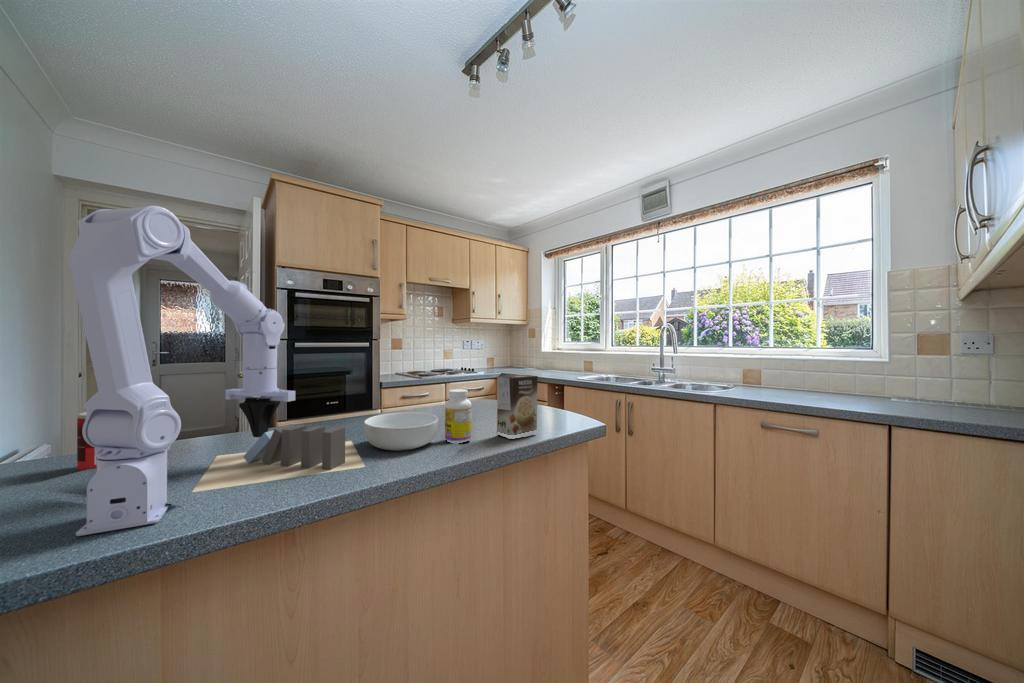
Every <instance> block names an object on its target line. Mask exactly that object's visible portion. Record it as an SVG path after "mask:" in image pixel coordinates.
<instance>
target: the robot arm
mask: <svg viewBox="0 0 1024 683" xmlns="http://www.w3.org/2000/svg"><path fill="white" fill-rule="evenodd" d="M77 224H78V230H79V234H78V236H77V240H76V242H75V244H74V246H73V248H72V250H71V253H70V255H69V267H70V271H71V275H72V280H73V286H74V289H75V292H76V294H75V295H76V297H77V301H78V303H77V304H78V307H79V310H80V316H81V320H82V325H83V328H84V333H85V338H86V342H87V346H88V351H89V355H90V359H91V364H92V365H91V366H92V368H93V373H94V377H95V378H94V379H95V382H96V386H97V391H96V393H95V394H94V395H92V396H91V398H89V399H88V400H87V401H86V402H85V405H84V406H85V410H86V411H85V412H86V413H87V415H86V420H85V422H84V425H83V429H82V434H83V438H84V439H85V441H86V442H87V443H88V444H89V445H91V446H93V447H95V455H97V468H96V472H95V473H94V475H93V476H92V477H91V478H90V480H89V481H88V484H87V487H86V523H85V524H84V525H83V526H82V527H80V528H79V529H78V530H77V531H76V532H75V536H76V537H81V536H87V535H94V534H98V533H105V532H106V533H107V532H110V531H116V530H122V529H123V530H124V529H128V528H133V527H139V526H146V525H152V524H157V523H159V521H160V520H161V519H162V517H163V516H164V515H165V514H166V513H167V511H168V510H169V509H170V507H171V506H172V503H168V451H169V450H171V445H173V443H174V442H175V441H176V440H177V439H178V436H179V434H180V432H181V429H182V420H181V417H180V414H178V412H177V411H176V410H175V409H174V408H173V406H172V405H171V399H170V396H169V395H168V394H167V393H166V392H165V391H163V390H162V389H161V388H160V387H158V386H157V385H156V384H155V383H154V382H153V377H152V372H151V371H152V370H151V367H150V362H149V357H148V351H147V347H146V346H147V345H146V342H145V337H144V336H145V335H144V332H143V327H142V321H141V316H140V310H139V305H138V301H137V297H136V292H135V287H134V286H135V285H134V281H133V274H134V272H136V271H137V270H138V269H140V268H141V267H142V266H144V264H146V263H147V262H149V261H150V260H151V259H152V260H158V261H159V260H160V261H164V262H169V263H171V264H172V265H174V266H175V267H176V268H177V269H179V270H180V271H182V272H183V273H185V274H186V276H189V277H190V278H191V279H192V280H193V281H195V282H196V283H197V284H199V285H200V286H202V287H203V288H204V289H205V290H206V291H208V292H210V295H209V296H210V297H209V299H210V300H209V301H210V302H211V303H212V304H213V305H214V306H215V307H216V308H218V309H219V310H220V311H221V312H222V313H224V314H225V315H226V316H227V317H228V318H229V319H231V321H232V322H233V323H234V327H235V330H236V332H237V333H238V334H239V335H241V336H242V342H243V343H242V345H243V347H242V348H243V349H242V388H231V389H230V388H229V389H225V396H224V397H225V398H224V399H225V400H244V402H243V401H242V402H239V403H238V408H239V409H240V410H241V412H242V413H243V414H244V416H245V417H246V420H247V422H248V424H249V427H250V431H251V435H252V437H253V438H260V437H261V436H262V435H263V434H264V433H265V432H268V431H269V427H270V424H271V421H272V419H273V416H274V414H275V413H276V410H277V409H278V408H279V406H280V405H281V402H285V403H288V402H292V401H293V402H294V401H296V390H288V389H281V388H278V346H279V345H280V343H281V335H282V334H283V332H284V330H285V326H286V325H285V324H286V323H285V322H284V320H283V317H282V316H281V314H280V313H279V312H278V311H276V310H275V309H273V308H267V307H266V306H265V305H264V303H263V302H262V301H261V300H259V299H258V298H257V297H256V296H255V295H254V294H253V293H252V292H251V291H250V290H248V285H246V283H244V282H240V281H238V280H229V279H228V278H227V277H226V276H225V275H224V274H223V273H222V272H221V271H220V270H219V269H218V267H217V266H216V265H215V264H214V263H213V262H212V261H211V260H210V259H209V258H208V257H207V255H205V253H204V252H203V251H202V249H200V247H198V245H196V244H195V242H193V241H192V239H191V238H192V237H191V232H190V231H191V230H190V229H189V228H188V227H187V226H186V225H185V224H183V223H182V222H181V221H180V219H179V218H178V217H177V216H176V215H175V214H174V213H173V212H172V211H170V210H168V209H167V208H165V207H162V206H158V205H148V206H147V205H146V206H144V207H143V206H142V207H132V208H131V207H129V208H116V209H111V208H102V209H97V210H94V211H93V212H91V213H89V214H88V215H85V216H84V217H82V218H81V219H78V220H77Z"/></svg>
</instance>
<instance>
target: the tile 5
mask: <svg viewBox="0 0 1024 683" xmlns="http://www.w3.org/2000/svg"><path fill="white" fill-rule="evenodd" d="M345 441H346V427H344V426H343V427H342V426H335V427H333V428H331V429H327V430H325V431H324V432H322V469H323V470H332V469H334V468H336V467H338V466H340V465H342V464H344V463H345Z"/></svg>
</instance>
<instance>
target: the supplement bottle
mask: <svg viewBox="0 0 1024 683" xmlns="http://www.w3.org/2000/svg"><path fill="white" fill-rule="evenodd" d="M468 392H469V391H468V389H463V388H458V389H457V388H456V389H450V390H448V395H449V399H448V400H447V401H446V402H445V404H444V440H445V439H446V440H450V441H464V440H467V439H470V438H471V439H472V402H471V400H469V399H468V395H469V393H468Z"/></svg>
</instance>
